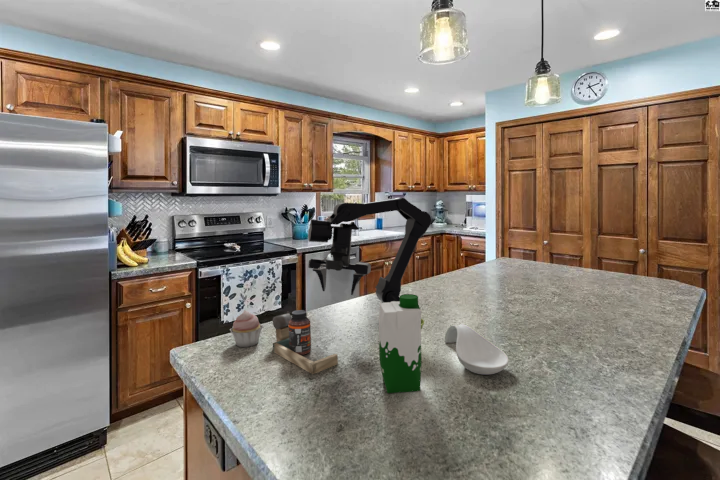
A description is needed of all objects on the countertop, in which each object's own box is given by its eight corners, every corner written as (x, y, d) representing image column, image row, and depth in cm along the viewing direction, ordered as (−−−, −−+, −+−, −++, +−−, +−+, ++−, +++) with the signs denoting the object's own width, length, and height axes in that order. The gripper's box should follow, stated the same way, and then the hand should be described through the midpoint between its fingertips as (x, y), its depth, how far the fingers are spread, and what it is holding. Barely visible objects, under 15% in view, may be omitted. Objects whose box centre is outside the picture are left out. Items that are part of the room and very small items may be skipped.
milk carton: (425, 393, 78) (424, 301, 76) (383, 396, 77) (381, 303, 75) (415, 373, 87) (414, 291, 85) (377, 376, 86) (375, 292, 84)
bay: (337, 364, 93) (337, 354, 93) (312, 374, 88) (312, 364, 88) (296, 344, 107) (296, 335, 107) (273, 351, 102) (272, 343, 102)
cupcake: (253, 335, 115) (251, 304, 114) (269, 342, 109) (267, 309, 108) (225, 343, 109) (222, 311, 108) (239, 352, 102) (237, 317, 101)
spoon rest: (518, 378, 84) (519, 348, 83) (470, 384, 82) (470, 353, 81) (469, 340, 107) (469, 316, 106) (431, 344, 105) (431, 320, 104)
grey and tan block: (295, 342, 108) (294, 313, 107) (280, 347, 105) (278, 317, 104) (289, 339, 111) (287, 310, 110) (273, 344, 108) (272, 314, 107)
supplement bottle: (303, 357, 98) (301, 316, 96) (285, 354, 100) (283, 313, 99) (315, 349, 103) (313, 310, 102) (297, 346, 105) (296, 307, 104)
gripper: (303, 242, 108) (300, 294, 109) (365, 248, 104) (361, 302, 105) (316, 240, 119) (313, 287, 120) (373, 245, 115) (368, 294, 116)
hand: (337, 293), depth 115 cm, fingers open, 9 cm apart
